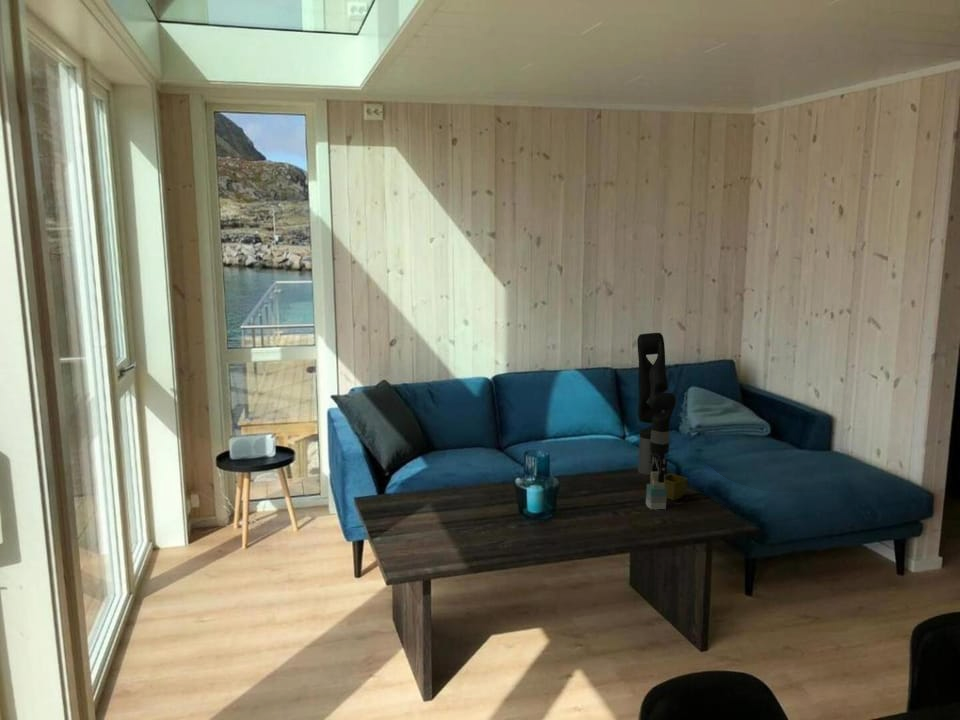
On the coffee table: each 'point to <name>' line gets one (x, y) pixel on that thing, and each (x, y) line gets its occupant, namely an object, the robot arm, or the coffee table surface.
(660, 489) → the slab top
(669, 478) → the flower pot
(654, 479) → the birch block
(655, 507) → the slab bottom
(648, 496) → the slab middle
